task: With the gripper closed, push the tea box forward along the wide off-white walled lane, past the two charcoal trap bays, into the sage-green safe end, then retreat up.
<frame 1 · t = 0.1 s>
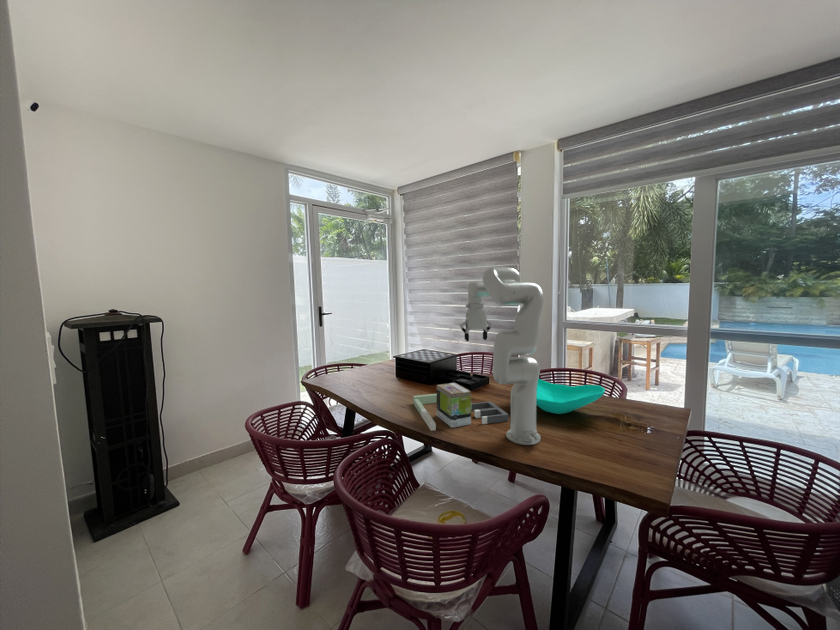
hand: (475, 340, 170), 31 cm above the table, fingers open, 9 cm apart
tea box: (453, 420, 148), on the table
trap bays: (489, 411, 152), on the table
lane: (448, 414, 154), on the table
table top decor: (555, 411, 155), on the table
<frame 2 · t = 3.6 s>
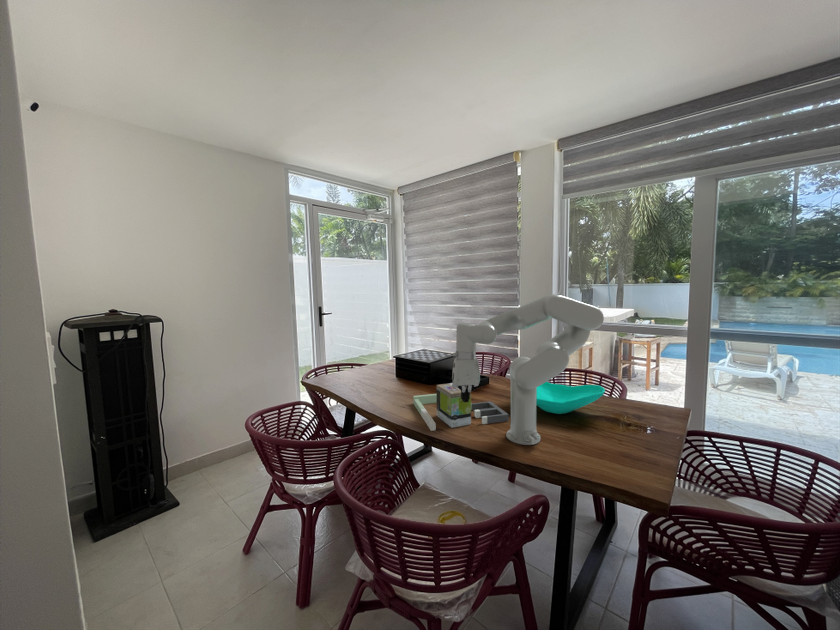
hand: (465, 401, 131), 14 cm above the table, fingers closed
nothing on the table moved.
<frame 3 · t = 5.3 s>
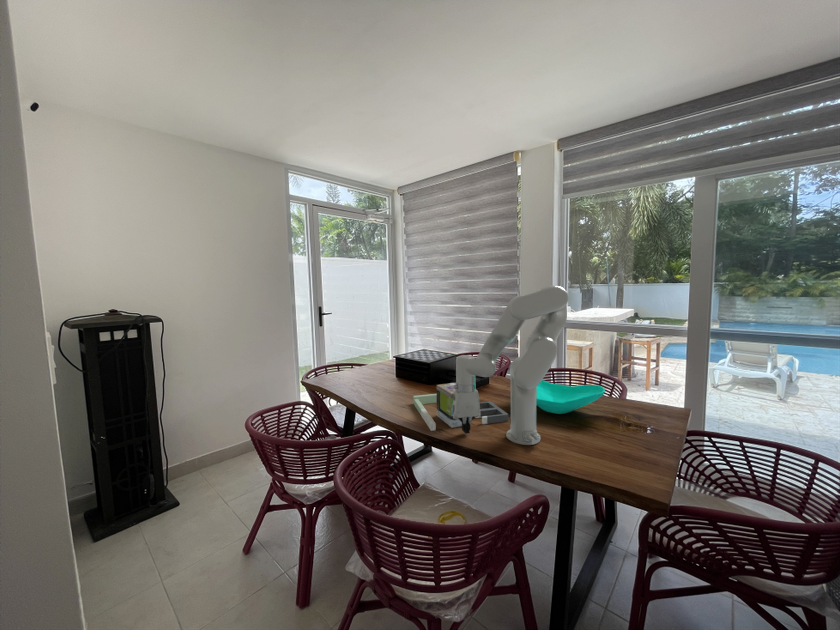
hand: (466, 431, 133), 1 cm above the table, fingers closed
nothing on the table moved.
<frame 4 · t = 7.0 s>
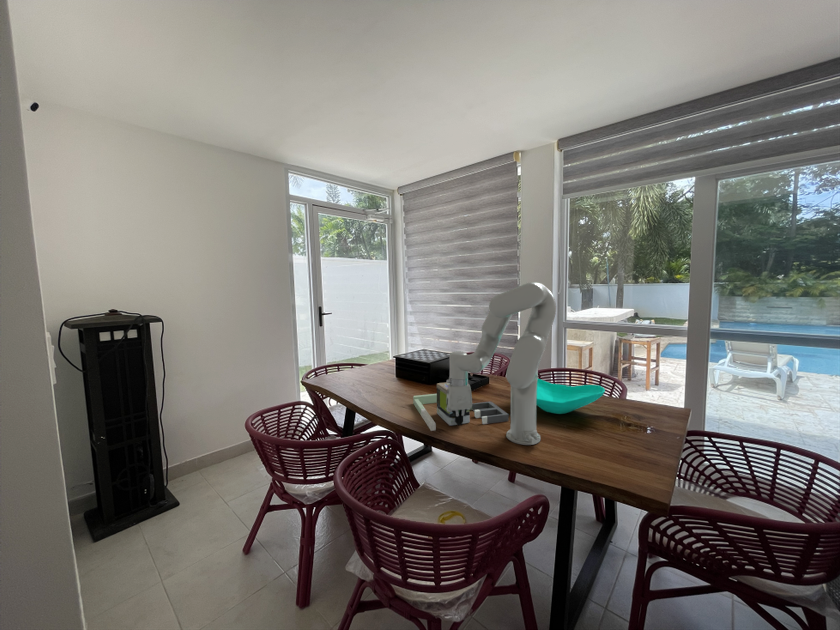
hand: (459, 424, 140), 1 cm above the table, fingers closed
tea box: (452, 418, 149), on the table, touching gripper
everything else where it was.
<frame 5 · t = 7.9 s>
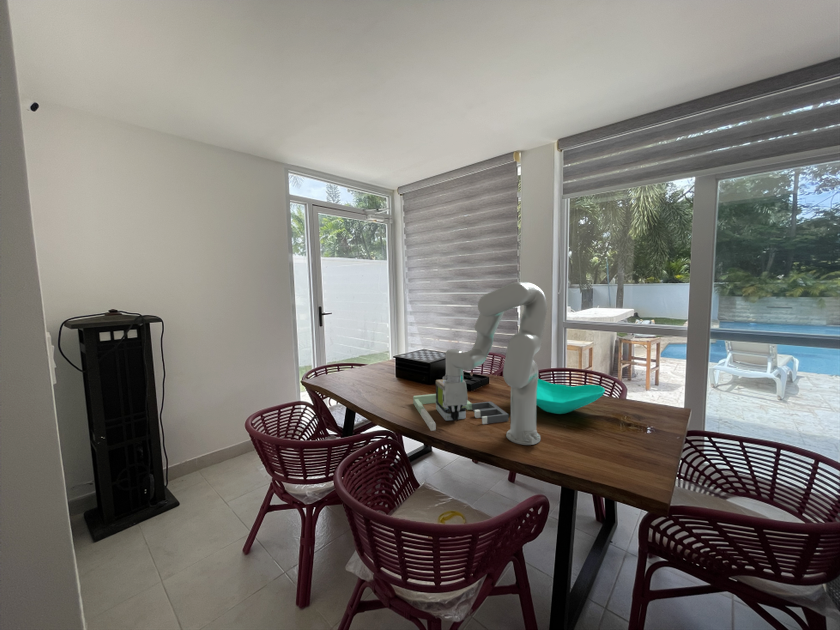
hand: (455, 419, 145), 1 cm above the table, fingers closed
tea box: (450, 414, 155), on the table, touching gripper
everything else where it was.
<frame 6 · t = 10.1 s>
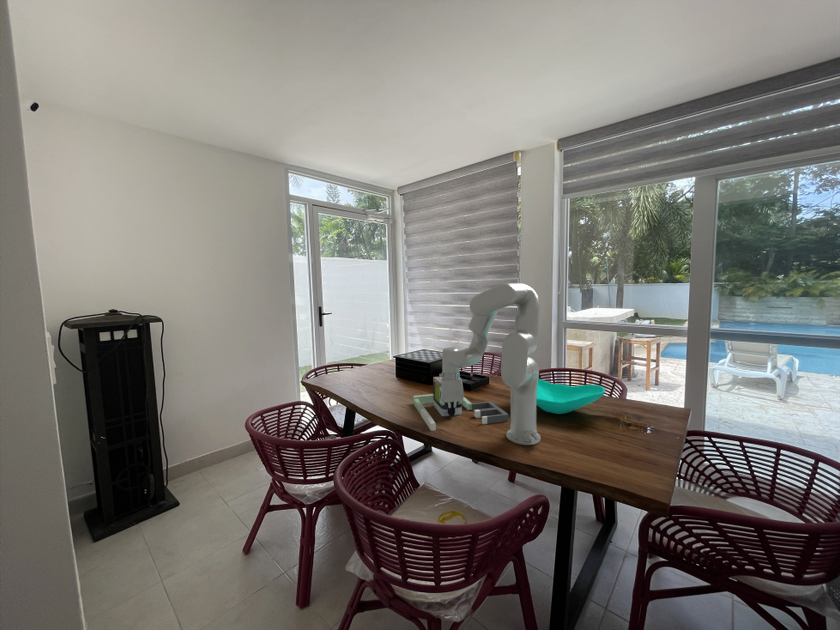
hand: (451, 415, 150), 1 cm above the table, fingers closed
tea box: (447, 410, 160), on the table
everything else where it was.
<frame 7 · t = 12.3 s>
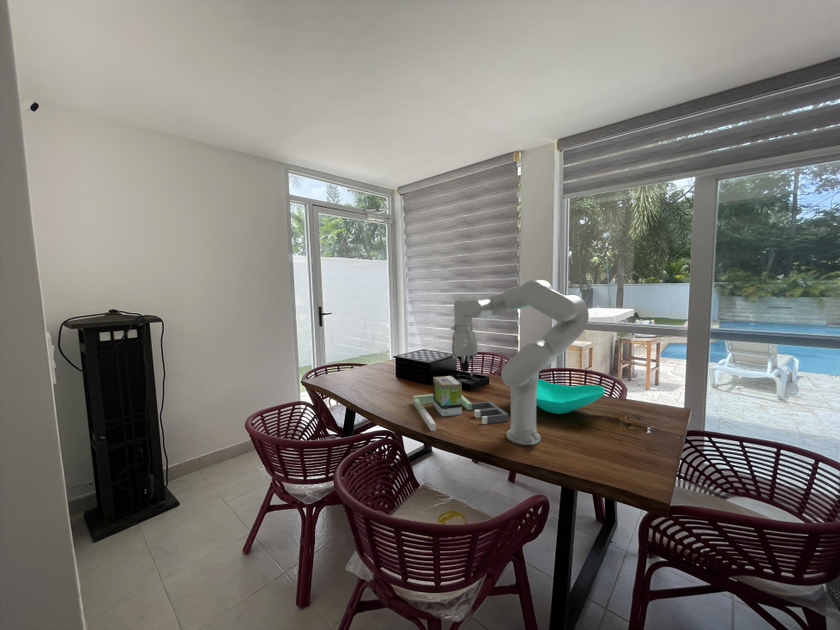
hand: (465, 371, 143), 23 cm above the table, fingers closed
nothing on the table moved.
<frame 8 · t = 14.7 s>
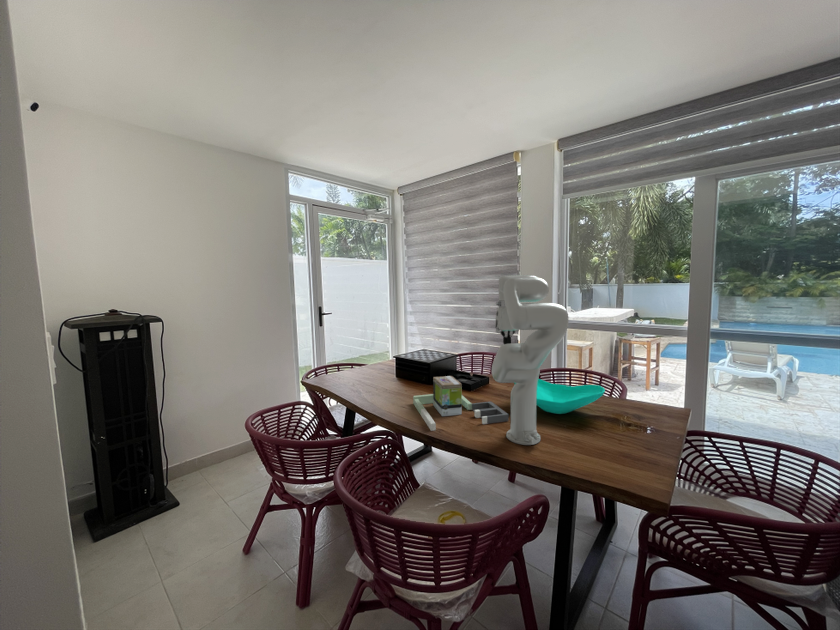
hand: (507, 345, 149), 32 cm above the table, fingers closed
nothing on the table moved.
at the end: tea box inside the target area (3.1 cm from its centre), on the table; tea box tilted 0° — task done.
